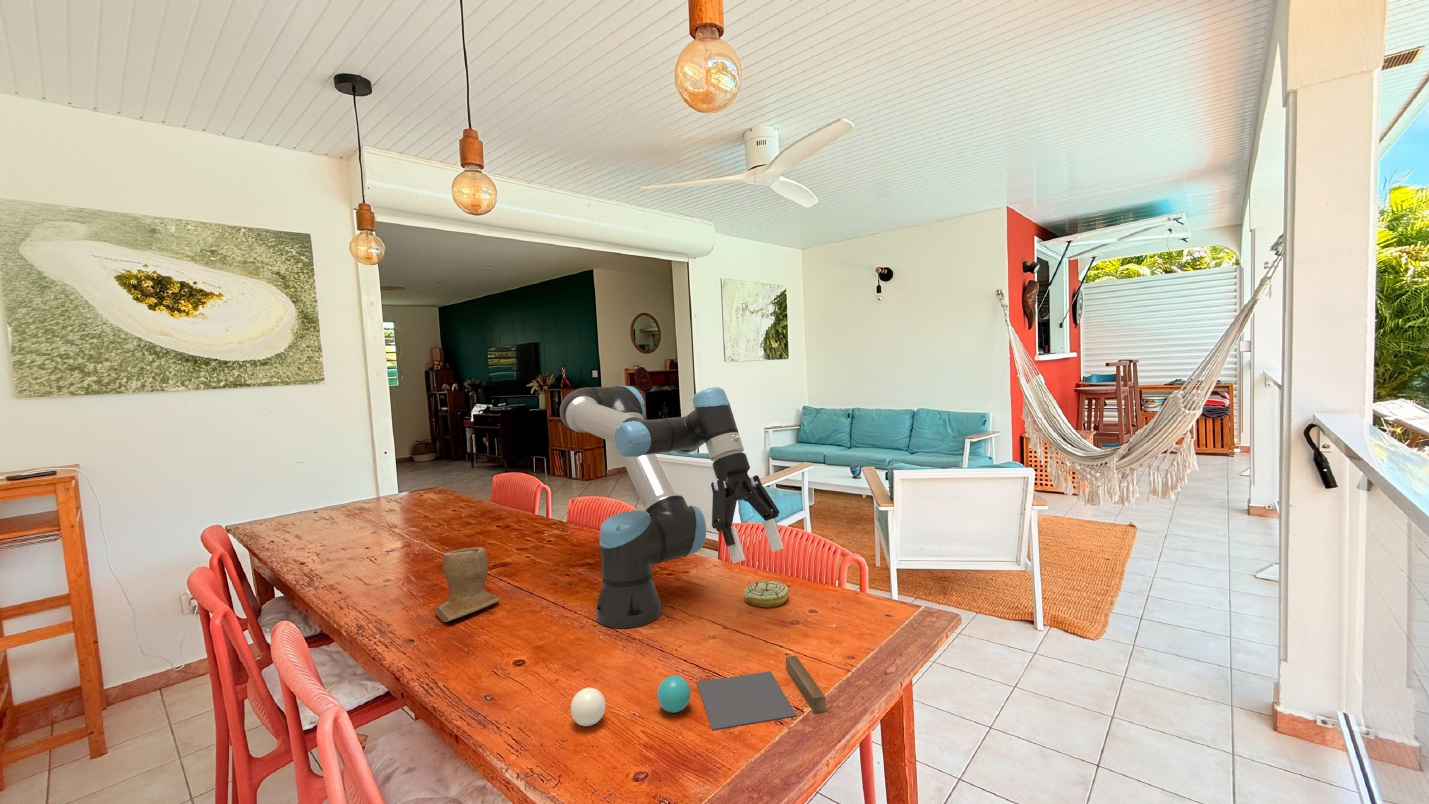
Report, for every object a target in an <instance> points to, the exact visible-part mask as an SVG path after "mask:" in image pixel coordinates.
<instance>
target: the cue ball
mask: <svg viewBox="0 0 1429 804" xmlns="http://www.w3.org/2000/svg"><path fill="white" fill-rule="evenodd" d="M605 711H606V699H605V696H604V695H603V694H602V692H601V691H600V690H599V689H597V688H594V687H585V688H583V689H581V690H579V691H578V692H577V693H576V694H575V695H574V697H573V699H572V700H571V703H570V714H571V717H572V719H573V721H574V722H575V723H576V724H577V725H578V726H582V727H590V726H593V725H595V724H597V723H598V722H599V721H600V720H601V719H602V718H603V716H604V713H605Z"/></svg>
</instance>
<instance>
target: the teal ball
mask: <svg viewBox="0 0 1429 804" xmlns="http://www.w3.org/2000/svg"><path fill="white" fill-rule="evenodd" d="M690 699H691V689H690V685H689V683H688V682H687V680H686V679H685V678H683V677H681V676H679V675H671V676H667V677H665V679H663V680H662V681H661V682H660V684H659V686H658V689H657V701H658V703H659V705H660V707H661V708H662V709H663V710H664V711H666V712H668V713H679V712H681V711H683V710H684V709H685V708H686V707H687V706H688V704H689V702H690Z"/></svg>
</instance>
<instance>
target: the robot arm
mask: <svg viewBox="0 0 1429 804" xmlns="http://www.w3.org/2000/svg"><path fill="white" fill-rule="evenodd" d="M727 396H728V395H727V394H726V392H725V390H724V389H723V388H721V387H718V386H716V387H715V386H714V387H708V388H705V389H704V388H703V389H702V390H700V391H699V392H697V393H695V394H694V395H693V398H692V403H693V407H694V408H693V409H694V410H693V411H691V412H689V414H686V415H685V416H679V417H678V416H676V417H667V418H658V419H645V417H646V407H645V405H646V404H645V400H644V398H643V396H642V394H641V393H640V391H639V390H638V389H637V388H635V387H634V386H628V385H621V384H620V385H615V386H598V387H597V386H596V387H595V386H594V387H581V388H580V387H579V388H577V389H575V390H573V391H572V392H570V393H567V395H566V396H565V397H564V398H563V399H562V401H561V403H560V407H559V415H560V419H561V421H562V422H563V423H564V425H565V426H566V427H567V428H569V429H570V430H572V431H575V432H577V433H589V434H592V435H593V436H597V437H598V438H601V439H604V440H605V441H608V442H610V443H613V444H615V447H616V449H617V451H618V453H619V456H620V458H621V460H622V462H623V464H624V466H625V469H626V471H627V472H628V473H627V474H628V475H629V478H630V479H631V482H632V484H633V486H634V488H635V490H636V493H637V495H638V497H639V500H640V502H641V504H642V506H643V508H644V509H643V510H642V509H641V510H639V509H635V510H631V511H629V510H627V511H622V512H619V513H616V514H613V515H611V516H609V517H608V518H606V519H605V520H604V521H603V522H602V523H601V526H600V530H599V532H600V533H599V543H598V544H599V546H600V547H599V548H600V561H601V564H600V566H601V579H602V580H601V581H602V582H601V583H602V584H601V589H600V593H599V597H598V599H597V603H596V606H595V618H596V621H597V622H598V623H599V624H601V625H602V626H604V627H608V628H612V629H613V628H614V629H631V628H636V627H640V626H644V625H647V624H649V623H652V622H654V621H655V620H657V619H658V618H659V617H660V616H661V614H662V602H661V599H660V597H659V594H658V591H657V588H656V585H655V583H654V580H653V579H654V578H653V566H654V565H658V564H662V563H664V562H665V563H666V562H668V561H672V560H676V559H680V558H686V557H688V556H690V555H692V554H695V553H697V552H699V551H700V550H702V548H703V546H704V545H705V541H706V536H707V524H706V518H705V516H704V514H703V512H702V509H700V508H699V507H697V506H696V505H688V504H687V502H686V500H685V498H684V496H683V495H682V494H677V493H675V491H674V489H673V487H672V486H671V482H670V480H669V479H668V477H667V475H666V473H665V471H664V469H663V467H662V465H661V463H660V461H659V459H658V457H657V455H656V454H662V453H670V452H675V453H678V454H681V455H687V454H690V453H692V452H695V451H697V450H698V449H700V447H701V446H703V445H704V444H705V446H706V449H707V451H708V456H709V460H710V461H711V462H712V468H713V471H714V475H715V477H716V480H715V481H713V482H711V483H710V486H711V492H712V504H711V505H712V507H711V509H712V510H711V511H712V513H711V527H712V528H713V530H716V531H717V533H720V532H722V537H723V539H724V543H725V546H726V547H727V549H728V552H729V556H730V559H731V562H732V564H736V563H739V562H743V561H746V558H745V554H744V551H743V547H742V544H741V540H740V538H739V534H738V531H737V528H736V526H733V520H734V516H735V511H736V507H737V502H738V501H744V502H747V503H748V504H749V505H750V506H751V507H752V509H754V511H756V512H757V513H758V515H759V516H760V517H761V518H762V519H763V520H764V521H763V522H762V526H763V528H764V530H765V531H764V532H765V534H766V537H767V540H768V544H769V547H770V550H771V552H772V553H775V552H777V551H781V550H782V549H784V548H785V547H784V544H783V541H782V538H781V535H780V530H779V527H778V525H777V520H776V518H778V517H779V514H780V510H779V509H778V507H777V505H776V503H774V501H773V500H772V497H771V496H770V495H769V493H768V492H767V491H766V488H765V487H764V486H763V484H762V482H761V479H760V476H759V475H758V474H756V475H753V476H751V477H750V476H749V474H748V473H749V471H750V470H751V466H750V463H749V459H748V457H747V454H746V453H745V452H744V451H745V448H744V446H743V443H742V440H741V437H740V433H739V429H738V427H737V423H736V421H735V417H734V413H733V410H732V408H731V403H730V401H729V399H728V397H727ZM563 423H562V424H563Z"/></svg>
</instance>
